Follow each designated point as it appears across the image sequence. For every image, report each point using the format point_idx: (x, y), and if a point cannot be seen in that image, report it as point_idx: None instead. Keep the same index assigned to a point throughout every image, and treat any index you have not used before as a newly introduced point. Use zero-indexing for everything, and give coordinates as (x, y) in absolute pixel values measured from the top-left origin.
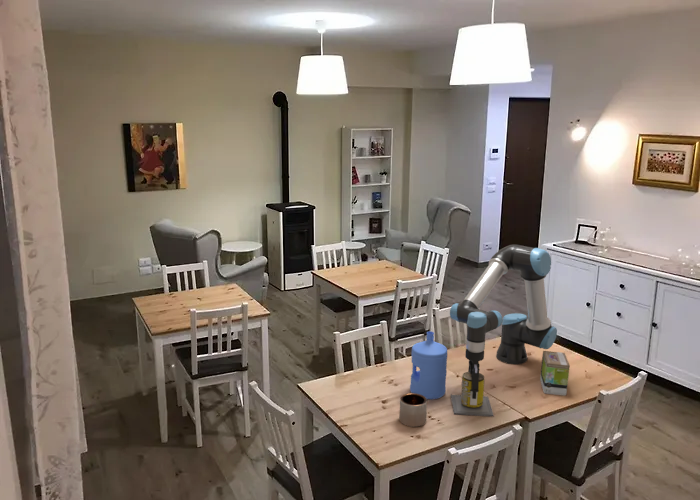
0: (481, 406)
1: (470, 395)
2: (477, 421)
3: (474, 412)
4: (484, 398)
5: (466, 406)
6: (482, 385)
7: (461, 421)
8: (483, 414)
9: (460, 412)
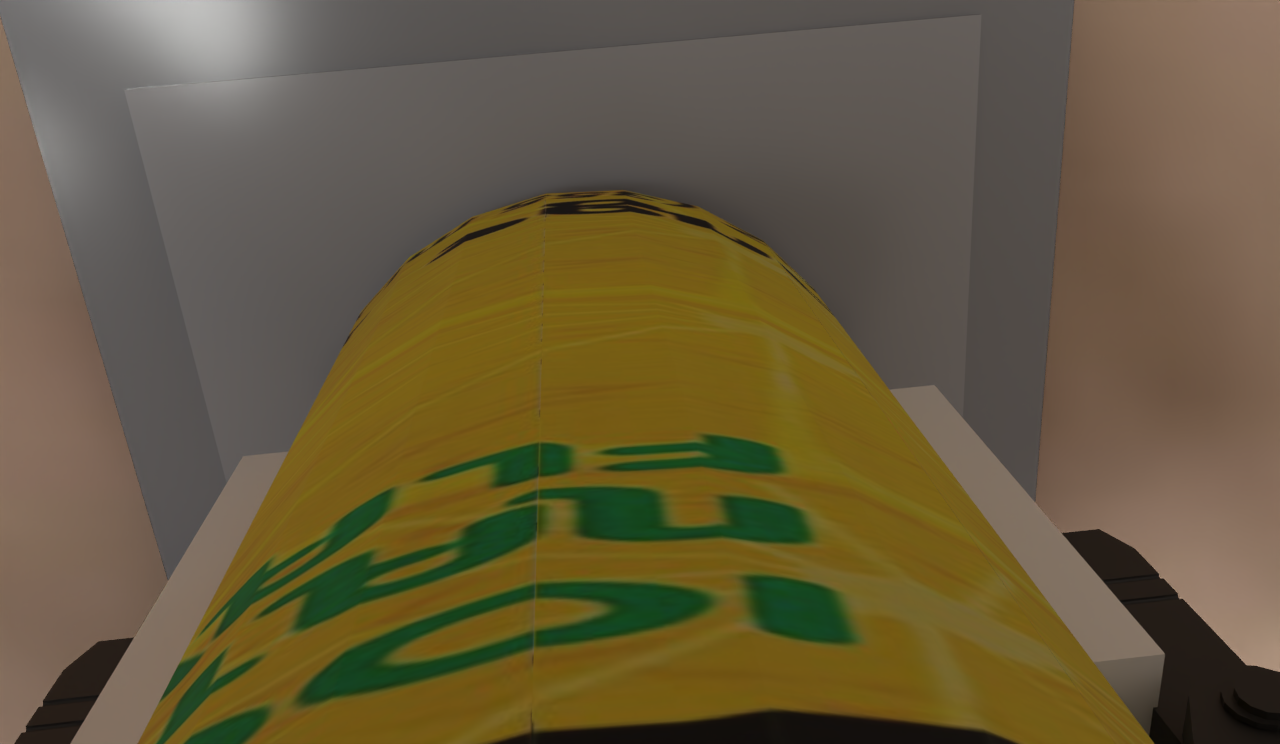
0: None
1: None
2: (1270, 295)
3: (982, 372)
4: (181, 109)
5: None
6: (968, 558)
7: (1256, 584)
8: (1059, 168)
9: None
